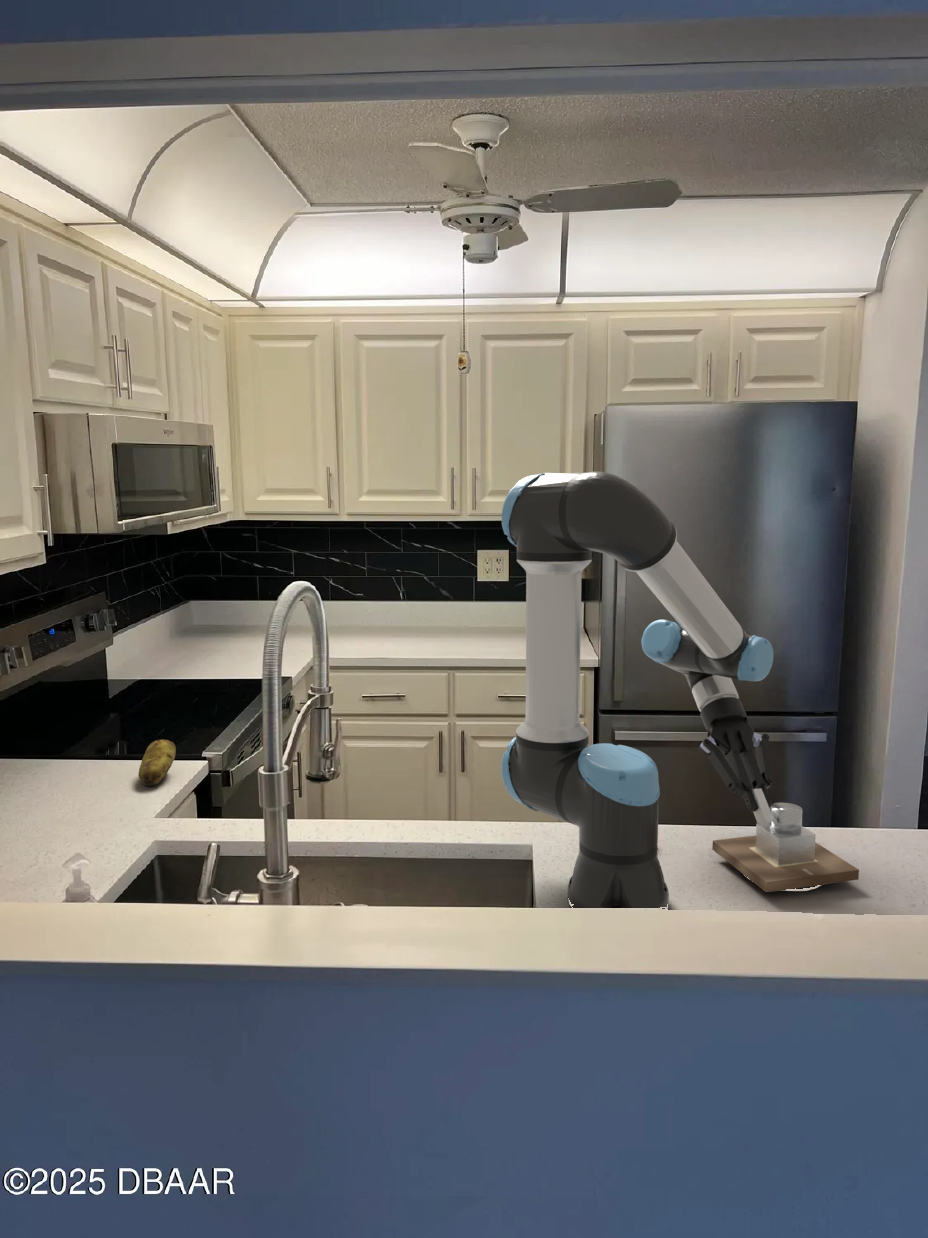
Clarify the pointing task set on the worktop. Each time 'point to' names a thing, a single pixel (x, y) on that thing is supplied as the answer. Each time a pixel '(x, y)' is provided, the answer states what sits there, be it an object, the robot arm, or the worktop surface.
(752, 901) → the worktop surface
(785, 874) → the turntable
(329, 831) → the worktop surface
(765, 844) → the metal block with knob
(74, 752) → the worktop surface
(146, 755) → the potato
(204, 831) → the worktop surface
